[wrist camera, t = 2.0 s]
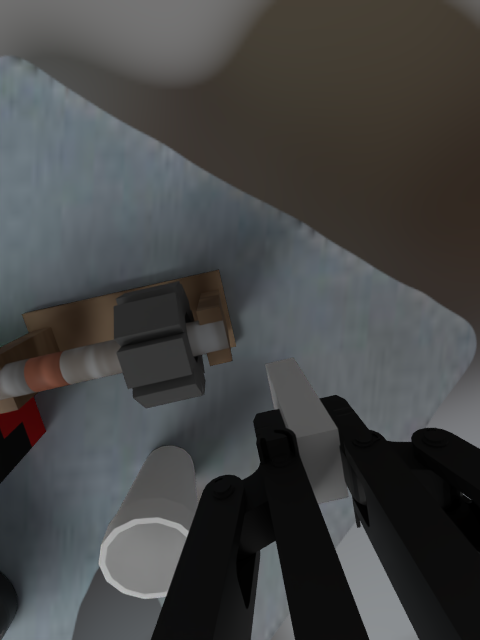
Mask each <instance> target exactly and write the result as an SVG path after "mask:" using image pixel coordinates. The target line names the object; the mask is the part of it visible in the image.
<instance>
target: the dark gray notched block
mask: <svg viewBox="0 0 480 640" xmlns="http://www.w3.org/2000/svg"><path fill="white" fill-rule="evenodd" d="M116 302H117V305H116V306H114V340H115V341H116V342H117V343H118V344H119V345H120V346H121V348H120V349H119V350H118V351H117V352H116V354H117V357H118V360H119V363H120V366H121V369H122V372H123V375H124V378H125V381H126V384H127V387H128V389H130V388H133V398H134V399H135V400H136V401H137V402H139V403H140V404H141V405H142V406H144V407H145V408H150V407H154V406H159V405H163V404H167V403H172V402H176V401H180V400H185V399H189V398H193V397H198V396H202V395H204V393H205V377H204V373H205V372H204V365H203V359H202V355H198V356H193V354H192V351H191V347H190V343H189V339H188V335H187V329H186V323H189V322H194V317H193V313H192V310H190V305H189V300H188V298H187V296H186V293H185V291H184V288H183V286H182V284H180V281H177V282H172V283H168V284H163V285H159V286H154V287H150V288H145V289H141V290H136V291H132V292H128V293H124V294H123V295H121V296H120V297H118V298H116Z"/></svg>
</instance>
